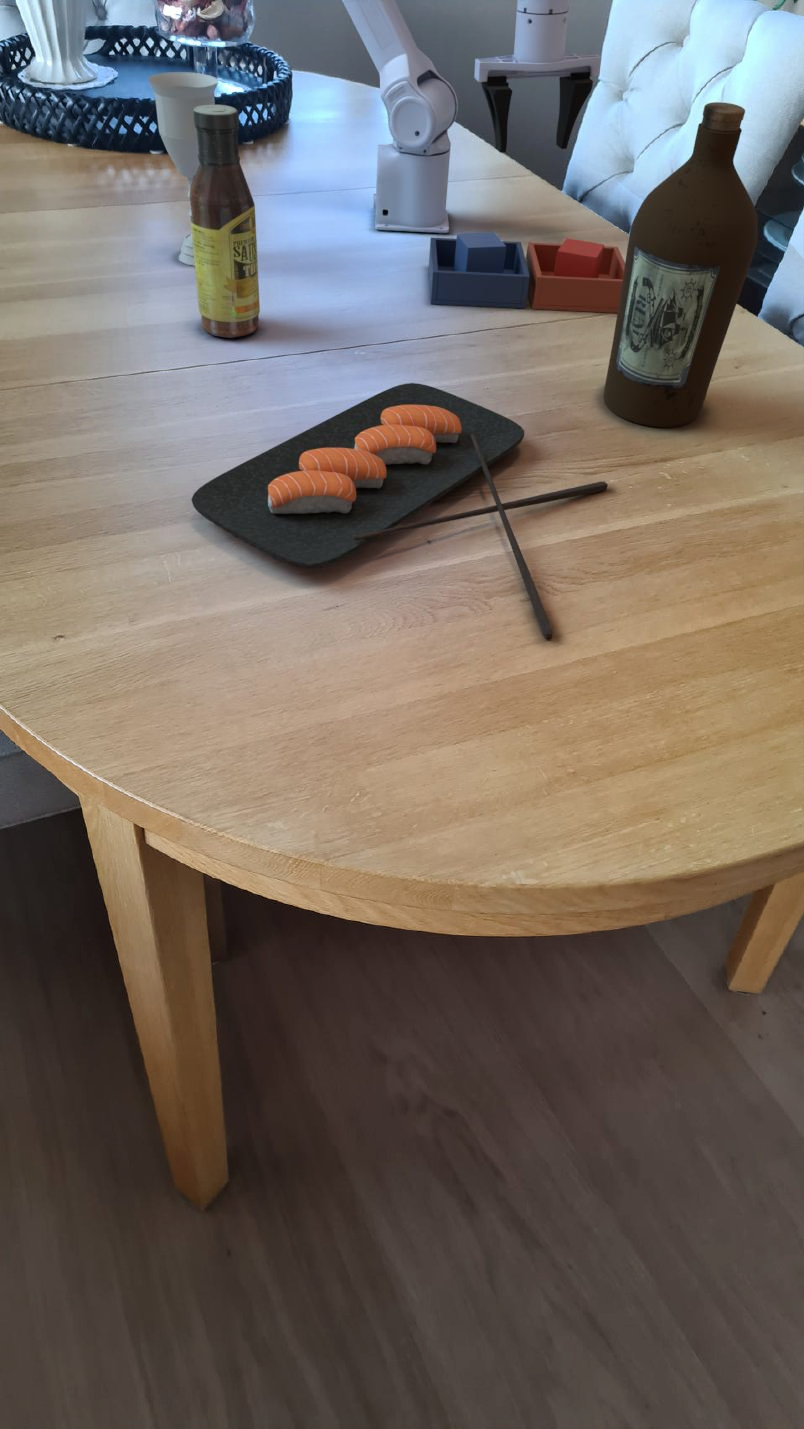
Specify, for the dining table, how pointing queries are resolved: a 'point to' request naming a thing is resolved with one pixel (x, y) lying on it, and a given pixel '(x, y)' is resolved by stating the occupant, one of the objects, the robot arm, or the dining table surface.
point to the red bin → (573, 282)
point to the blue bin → (477, 278)
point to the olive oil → (682, 280)
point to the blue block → (479, 253)
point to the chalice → (182, 125)
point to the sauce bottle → (223, 228)
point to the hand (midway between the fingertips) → (531, 148)
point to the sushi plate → (369, 479)
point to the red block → (579, 259)
